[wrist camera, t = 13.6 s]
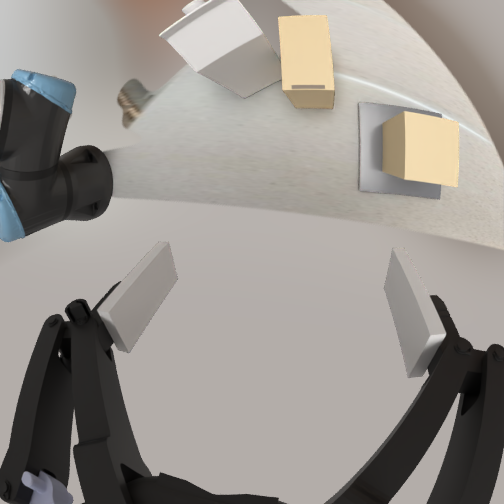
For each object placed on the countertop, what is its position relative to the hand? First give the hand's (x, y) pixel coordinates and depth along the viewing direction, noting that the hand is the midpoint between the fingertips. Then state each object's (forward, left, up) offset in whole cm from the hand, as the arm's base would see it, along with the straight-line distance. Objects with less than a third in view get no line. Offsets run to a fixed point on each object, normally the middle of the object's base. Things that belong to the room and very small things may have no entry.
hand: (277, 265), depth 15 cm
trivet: (+13, +8, -23) cm, 28 cm away
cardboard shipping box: (+1, +17, -23) cm, 29 cm away
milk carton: (-7, +19, -24) cm, 31 cm away
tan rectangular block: (+13, +8, -22) cm, 27 cm away
